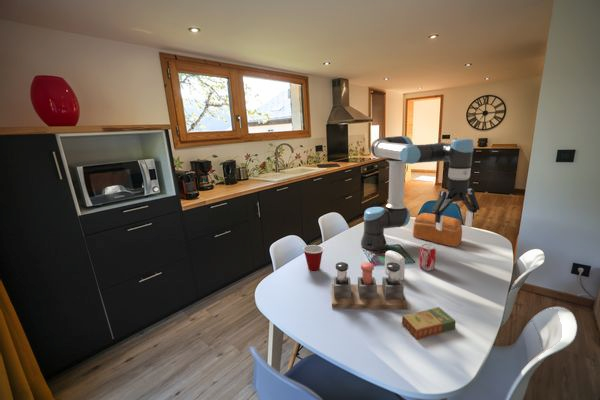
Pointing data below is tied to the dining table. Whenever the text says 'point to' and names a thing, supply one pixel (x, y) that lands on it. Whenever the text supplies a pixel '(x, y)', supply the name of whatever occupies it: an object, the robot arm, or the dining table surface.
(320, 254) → the plastic cup
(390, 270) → the grey plug
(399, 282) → the socket board
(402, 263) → the photo printer
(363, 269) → the red plug
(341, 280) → the grey plug
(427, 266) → the soda can
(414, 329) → the carton
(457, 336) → the dining table surface
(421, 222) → the bread
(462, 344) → the dining table surface
